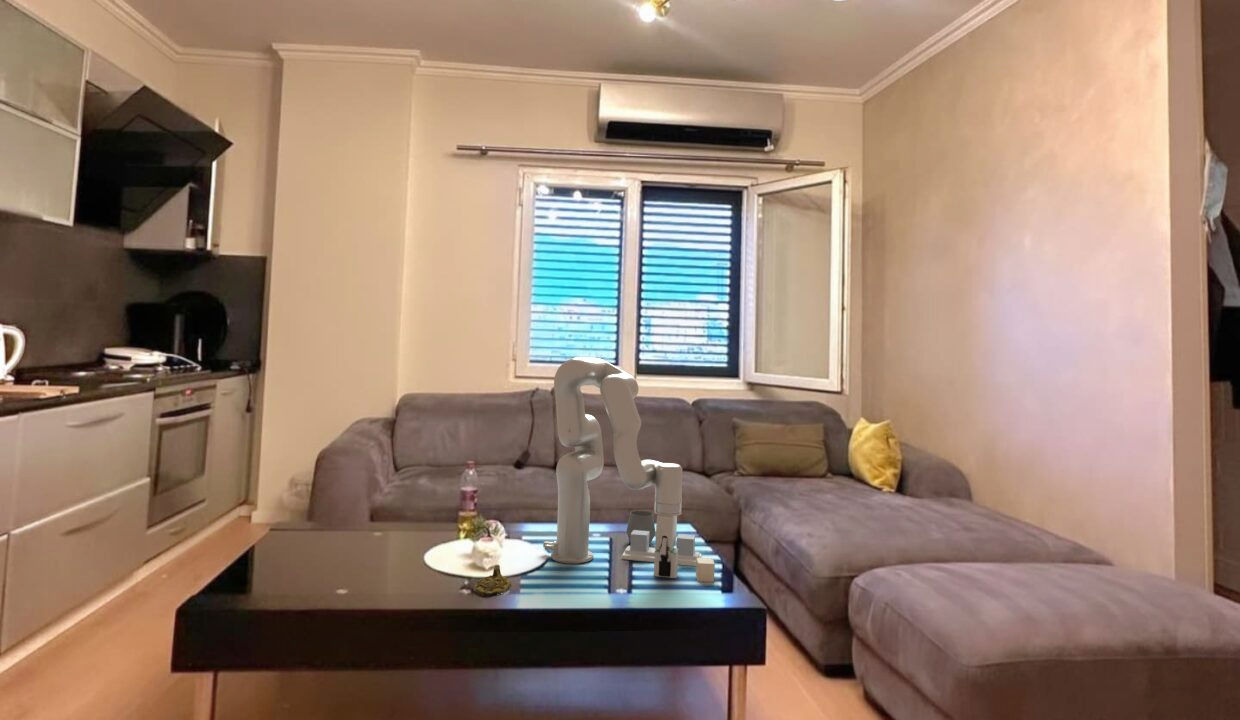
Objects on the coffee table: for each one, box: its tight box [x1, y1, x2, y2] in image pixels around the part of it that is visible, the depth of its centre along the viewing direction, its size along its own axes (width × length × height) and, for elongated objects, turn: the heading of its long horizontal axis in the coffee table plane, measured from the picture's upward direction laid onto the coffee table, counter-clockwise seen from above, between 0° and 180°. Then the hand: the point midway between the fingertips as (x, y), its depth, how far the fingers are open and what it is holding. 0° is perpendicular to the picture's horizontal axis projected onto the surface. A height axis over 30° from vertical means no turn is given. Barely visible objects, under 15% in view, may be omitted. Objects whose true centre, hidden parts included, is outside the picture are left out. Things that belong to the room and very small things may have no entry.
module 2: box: [695, 557, 716, 583], centre depth 187 cm, size 4×5×5 cm
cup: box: [626, 510, 656, 545], centre depth 220 cm, size 10×9×10 cm
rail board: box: [621, 530, 703, 567], centre depth 205 cm, size 23×9×7 cm, turn 79°
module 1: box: [653, 547, 679, 579], centre depth 189 cm, size 6×4×7 cm
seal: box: [472, 564, 512, 598], centre depth 175 cm, size 9×5×15 cm
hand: (665, 572), depth 189 cm, fingers closed on module 1, 4 cm apart
